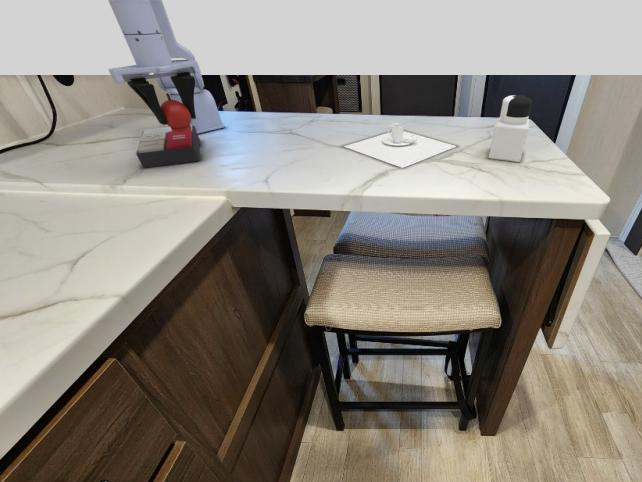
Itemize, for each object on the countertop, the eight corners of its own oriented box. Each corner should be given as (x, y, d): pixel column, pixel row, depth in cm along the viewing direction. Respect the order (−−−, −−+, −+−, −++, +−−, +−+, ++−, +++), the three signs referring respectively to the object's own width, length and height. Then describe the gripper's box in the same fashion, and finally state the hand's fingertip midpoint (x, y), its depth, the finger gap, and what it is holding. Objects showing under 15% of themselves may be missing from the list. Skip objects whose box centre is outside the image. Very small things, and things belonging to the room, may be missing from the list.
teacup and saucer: (422, 142, 83) (423, 125, 81) (400, 150, 79) (401, 132, 76) (397, 135, 88) (397, 118, 85) (375, 142, 83) (375, 124, 81)
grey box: (133, 150, 67) (141, 126, 76) (144, 171, 70) (150, 145, 80) (192, 143, 70) (193, 121, 80) (201, 163, 73) (200, 140, 83)
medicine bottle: (522, 152, 79) (536, 94, 71) (520, 162, 74) (535, 102, 66) (492, 148, 81) (503, 92, 73) (488, 158, 76) (499, 98, 68)
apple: (188, 124, 69) (174, 89, 65) (200, 129, 67) (187, 92, 63) (162, 129, 66) (146, 93, 62) (174, 134, 64) (158, 97, 60)
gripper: (102, 37, 50) (148, 132, 60) (195, 32, 59) (222, 116, 68) (87, 34, 54) (132, 125, 63) (177, 30, 62) (205, 111, 71)
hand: (178, 120), depth 66 cm, fingers closed on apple, 5 cm apart
